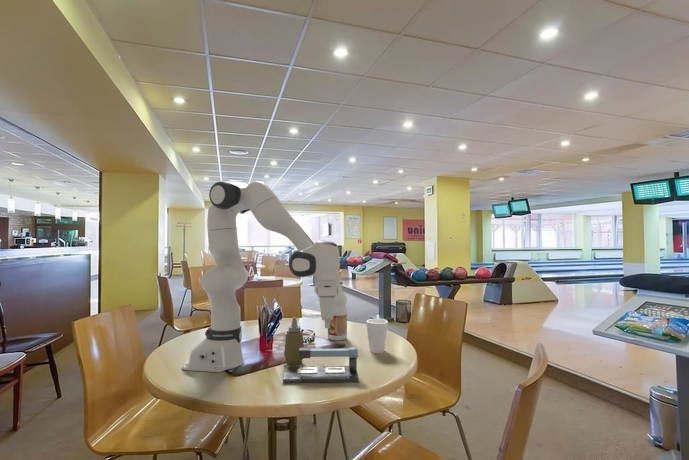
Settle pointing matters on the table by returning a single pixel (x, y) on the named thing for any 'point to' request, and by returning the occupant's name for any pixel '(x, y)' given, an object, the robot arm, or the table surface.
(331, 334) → the fruit juice
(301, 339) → the squeeze bottle
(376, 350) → the foam cup
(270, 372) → the table surface
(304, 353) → the swing arm
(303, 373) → the switch panel
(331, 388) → the table surface
